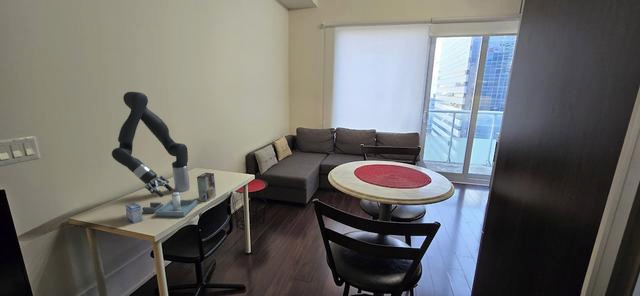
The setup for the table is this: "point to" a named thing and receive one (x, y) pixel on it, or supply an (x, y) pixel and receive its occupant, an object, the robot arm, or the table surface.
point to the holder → (152, 207)
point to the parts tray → (169, 212)
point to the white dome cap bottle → (176, 201)
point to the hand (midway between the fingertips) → (167, 192)
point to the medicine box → (134, 212)
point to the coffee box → (206, 186)
